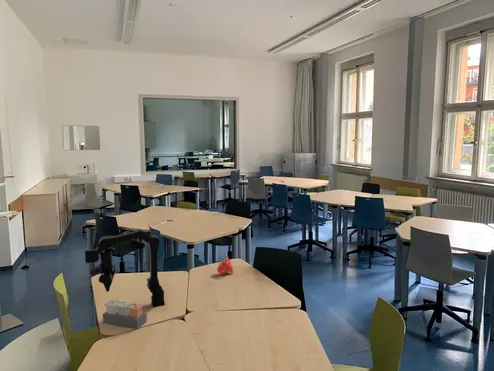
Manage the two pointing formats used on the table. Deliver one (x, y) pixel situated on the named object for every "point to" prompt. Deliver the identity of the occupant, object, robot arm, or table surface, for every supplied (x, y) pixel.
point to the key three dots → (135, 310)
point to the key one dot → (112, 306)
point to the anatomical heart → (225, 267)
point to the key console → (125, 320)
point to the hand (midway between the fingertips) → (109, 288)
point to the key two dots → (123, 308)
